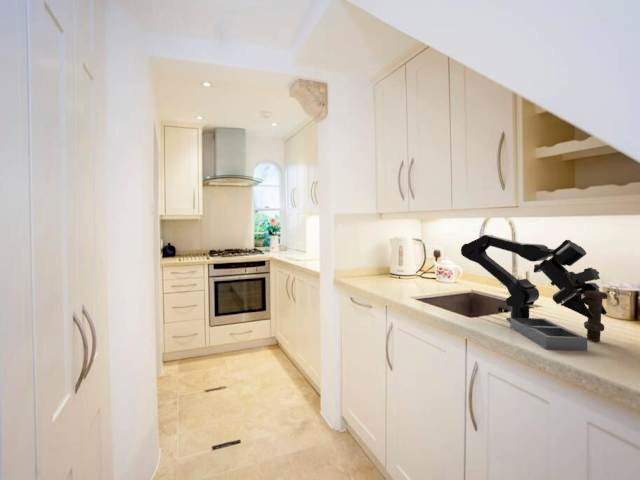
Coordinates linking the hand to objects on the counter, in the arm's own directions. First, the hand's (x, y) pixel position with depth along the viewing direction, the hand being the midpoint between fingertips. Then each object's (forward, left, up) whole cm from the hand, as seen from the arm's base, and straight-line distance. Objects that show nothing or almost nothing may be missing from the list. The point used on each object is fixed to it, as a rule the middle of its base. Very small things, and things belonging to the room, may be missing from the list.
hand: (599, 315), depth 98 cm
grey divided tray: (-2, -14, -8) cm, 16 cm away
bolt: (-1, -1, -8) cm, 8 cm away
